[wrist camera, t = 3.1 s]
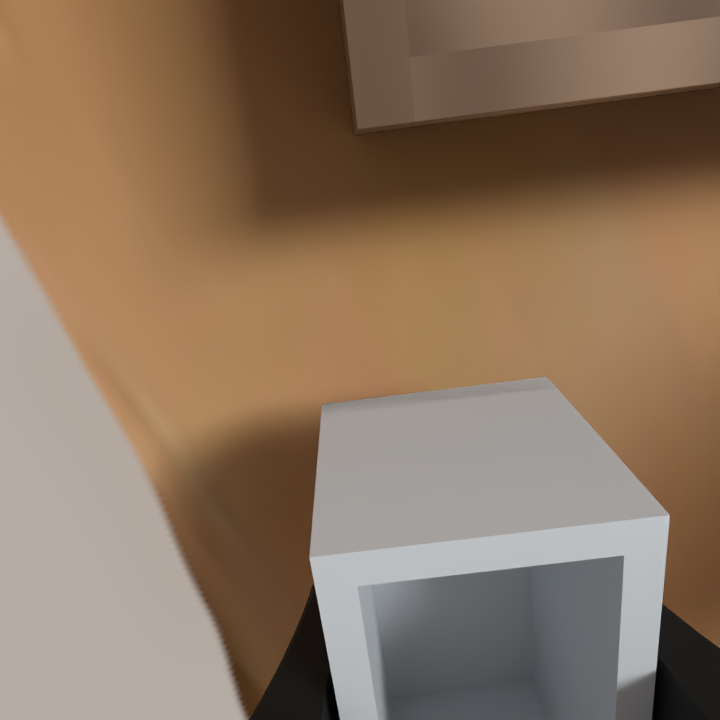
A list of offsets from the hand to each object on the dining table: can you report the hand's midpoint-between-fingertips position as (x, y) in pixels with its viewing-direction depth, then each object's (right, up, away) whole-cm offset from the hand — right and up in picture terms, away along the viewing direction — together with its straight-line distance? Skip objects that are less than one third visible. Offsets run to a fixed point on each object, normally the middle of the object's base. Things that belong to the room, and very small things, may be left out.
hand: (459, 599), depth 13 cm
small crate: (0, +1, +1) cm, 2 cm away
